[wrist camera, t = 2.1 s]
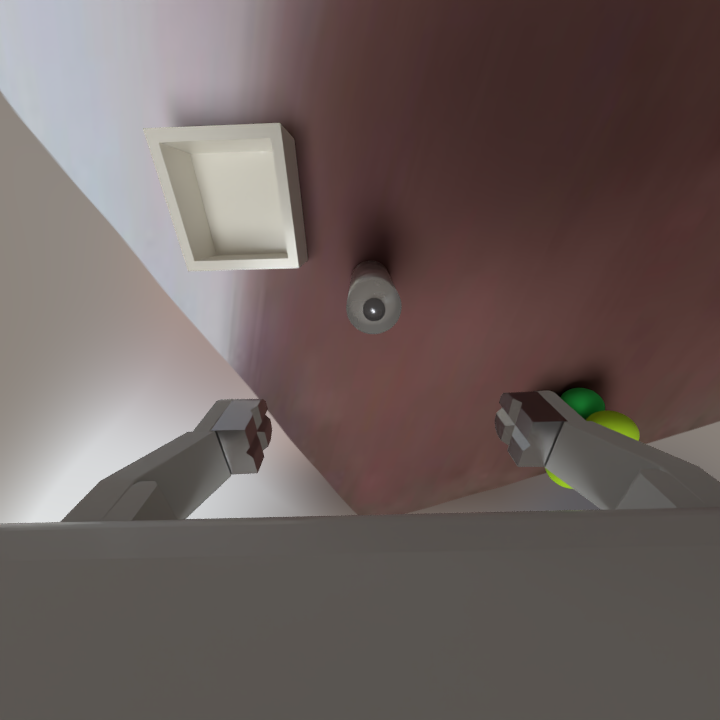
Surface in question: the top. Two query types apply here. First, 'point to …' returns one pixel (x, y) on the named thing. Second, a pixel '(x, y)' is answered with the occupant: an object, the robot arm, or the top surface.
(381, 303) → the cylinder
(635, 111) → the top surface
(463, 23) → the top surface
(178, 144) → the cream square tray
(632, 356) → the top surface
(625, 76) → the top surface
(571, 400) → the molecule model
